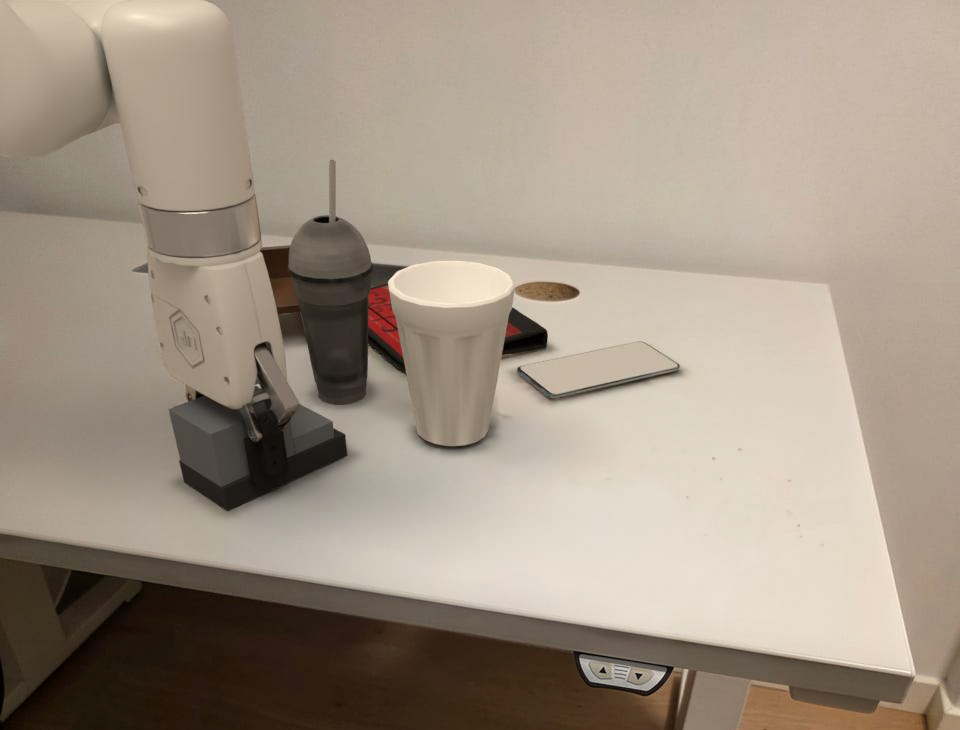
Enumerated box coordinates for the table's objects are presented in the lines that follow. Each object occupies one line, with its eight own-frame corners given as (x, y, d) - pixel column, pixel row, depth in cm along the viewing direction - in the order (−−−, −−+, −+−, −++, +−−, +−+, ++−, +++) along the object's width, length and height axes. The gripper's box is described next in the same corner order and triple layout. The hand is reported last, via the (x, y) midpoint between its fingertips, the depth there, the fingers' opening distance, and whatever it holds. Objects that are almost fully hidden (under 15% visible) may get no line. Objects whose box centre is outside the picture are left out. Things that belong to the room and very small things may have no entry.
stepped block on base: (227, 511, 69) (211, 434, 65) (183, 482, 72) (166, 407, 68) (347, 455, 76) (340, 383, 71) (303, 431, 79) (294, 360, 75)
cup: (372, 429, 79) (361, 278, 71) (458, 396, 84) (458, 251, 76) (445, 474, 74) (443, 316, 65) (533, 435, 79) (541, 284, 70)
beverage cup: (335, 370, 88) (313, 142, 75) (396, 388, 85) (384, 155, 72) (286, 399, 83) (254, 161, 70) (350, 419, 81) (328, 175, 68)
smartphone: (514, 366, 88) (642, 340, 93) (514, 372, 88) (641, 345, 93) (550, 396, 83) (682, 366, 88) (550, 401, 83) (681, 371, 89)
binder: (451, 263, 105) (549, 327, 91) (452, 283, 106) (549, 349, 93) (323, 292, 99) (407, 364, 85) (326, 313, 101) (409, 387, 87)
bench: (192, 354, 91) (178, 284, 86) (188, 321, 97) (174, 253, 92) (331, 340, 94) (324, 271, 89) (318, 308, 100) (311, 243, 96)
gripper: (85, 209, 63) (145, 442, 74) (230, 271, 54) (272, 524, 65) (179, 189, 67) (222, 412, 79) (328, 243, 58) (351, 486, 70)
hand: (244, 461), depth 72 cm, fingers closed on stepped block on base, 6 cm apart
